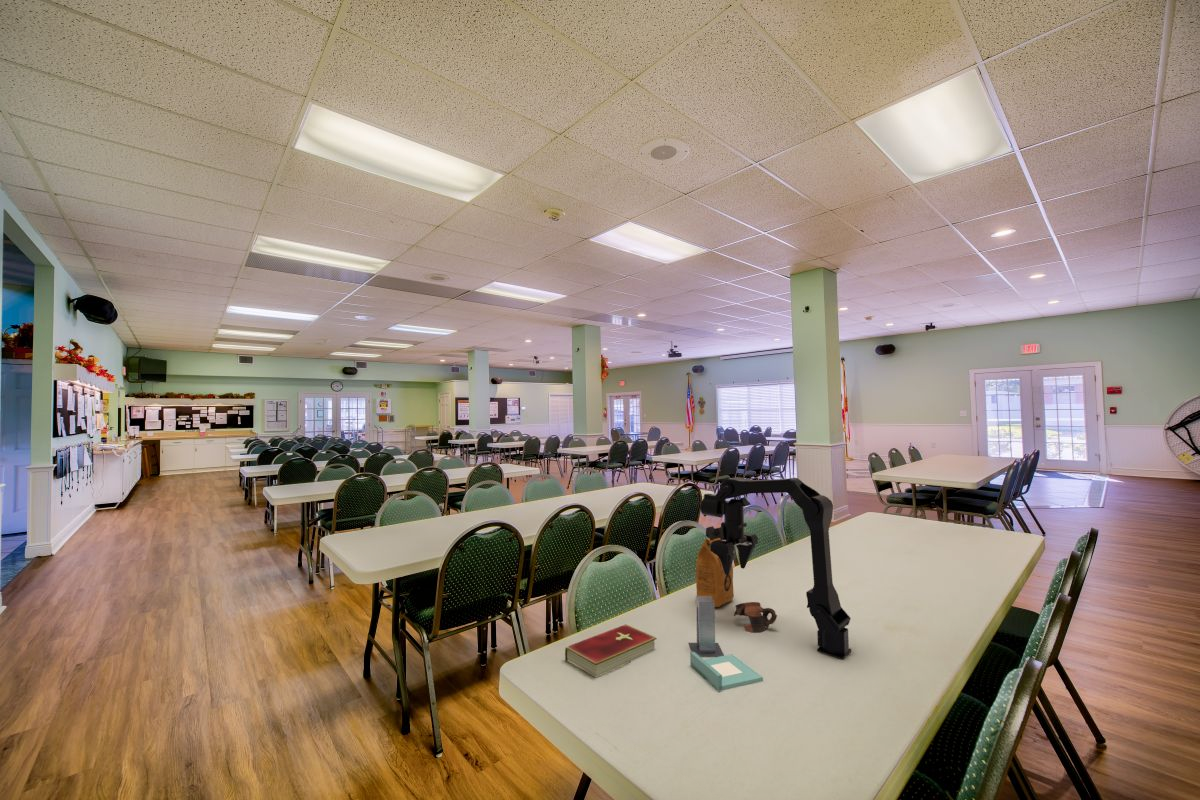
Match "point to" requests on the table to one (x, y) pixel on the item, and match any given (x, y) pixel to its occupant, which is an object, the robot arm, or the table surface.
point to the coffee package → (713, 576)
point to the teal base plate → (724, 671)
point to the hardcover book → (609, 650)
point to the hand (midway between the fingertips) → (734, 571)
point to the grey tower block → (705, 624)
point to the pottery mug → (755, 616)
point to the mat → (717, 654)
